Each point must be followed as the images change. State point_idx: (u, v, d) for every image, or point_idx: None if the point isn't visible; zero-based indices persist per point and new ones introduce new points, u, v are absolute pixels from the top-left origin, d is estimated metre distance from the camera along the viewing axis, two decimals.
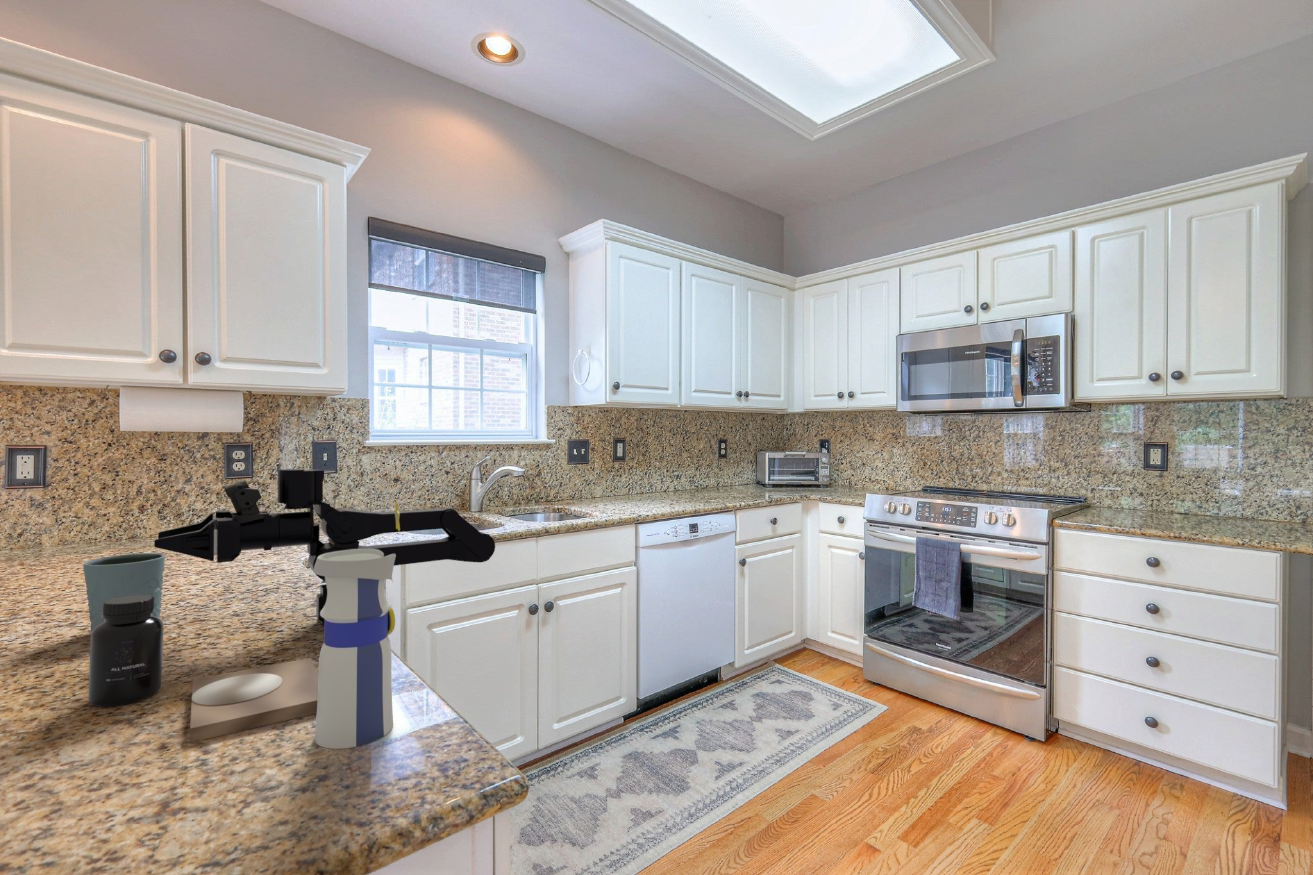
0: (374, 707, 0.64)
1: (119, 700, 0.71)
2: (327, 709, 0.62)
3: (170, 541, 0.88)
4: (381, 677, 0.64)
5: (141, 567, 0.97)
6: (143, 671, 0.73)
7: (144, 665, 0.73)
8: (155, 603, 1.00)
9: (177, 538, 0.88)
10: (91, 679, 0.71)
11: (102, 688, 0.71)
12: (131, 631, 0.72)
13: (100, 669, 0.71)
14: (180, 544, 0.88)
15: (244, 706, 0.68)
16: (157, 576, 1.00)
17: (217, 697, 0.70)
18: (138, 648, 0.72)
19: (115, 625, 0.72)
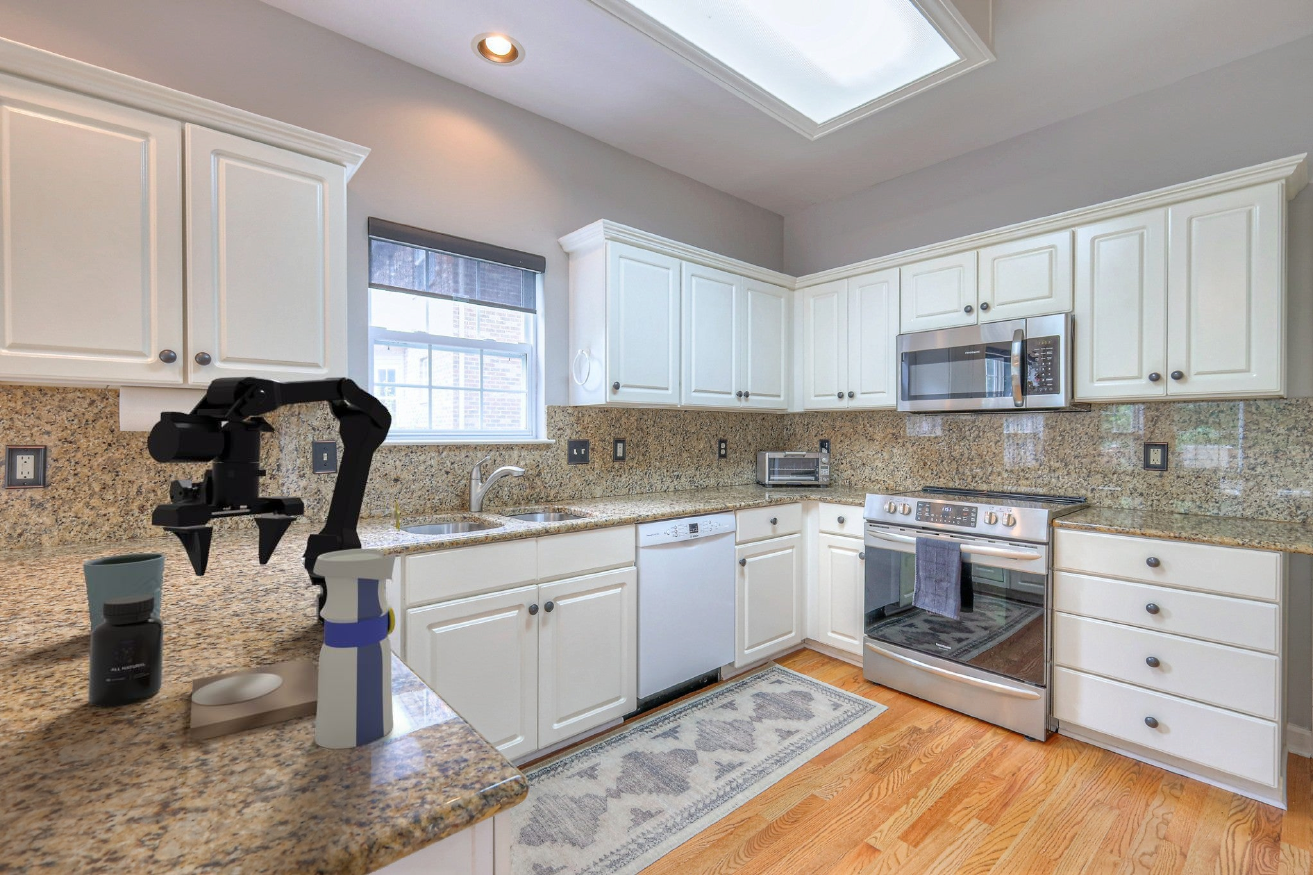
0: (374, 707, 0.64)
1: (119, 700, 0.71)
2: (327, 709, 0.62)
3: (194, 563, 0.82)
4: (381, 677, 0.64)
5: (141, 567, 0.97)
6: (143, 671, 0.73)
7: (144, 665, 0.73)
8: (155, 603, 1.00)
9: (192, 557, 0.82)
10: (91, 679, 0.71)
11: (102, 688, 0.71)
12: (131, 631, 0.72)
13: (100, 669, 0.71)
14: (194, 555, 0.82)
15: (244, 706, 0.68)
16: (157, 576, 1.00)
17: (217, 697, 0.70)
18: (138, 648, 0.72)
19: (115, 625, 0.72)
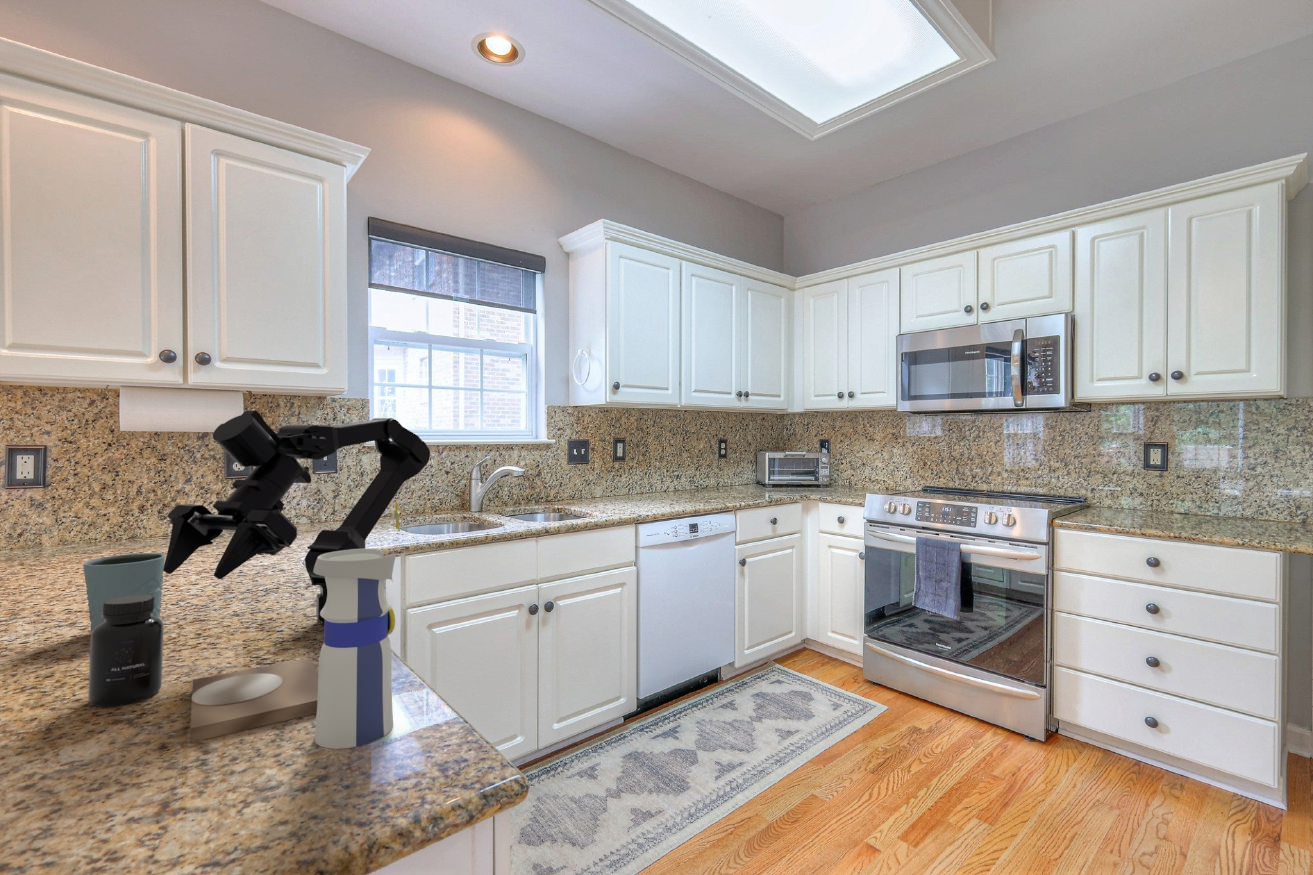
0: (374, 707, 0.64)
1: (119, 700, 0.71)
2: (327, 709, 0.62)
3: None
4: (381, 677, 0.64)
5: (141, 567, 0.97)
6: (143, 671, 0.73)
7: (144, 665, 0.73)
8: (155, 603, 1.00)
9: None
10: (91, 679, 0.71)
11: (102, 688, 0.71)
12: (131, 631, 0.72)
13: (100, 669, 0.71)
14: None
15: (244, 706, 0.68)
16: (157, 576, 1.00)
17: (217, 697, 0.70)
18: (138, 648, 0.72)
19: (115, 625, 0.72)
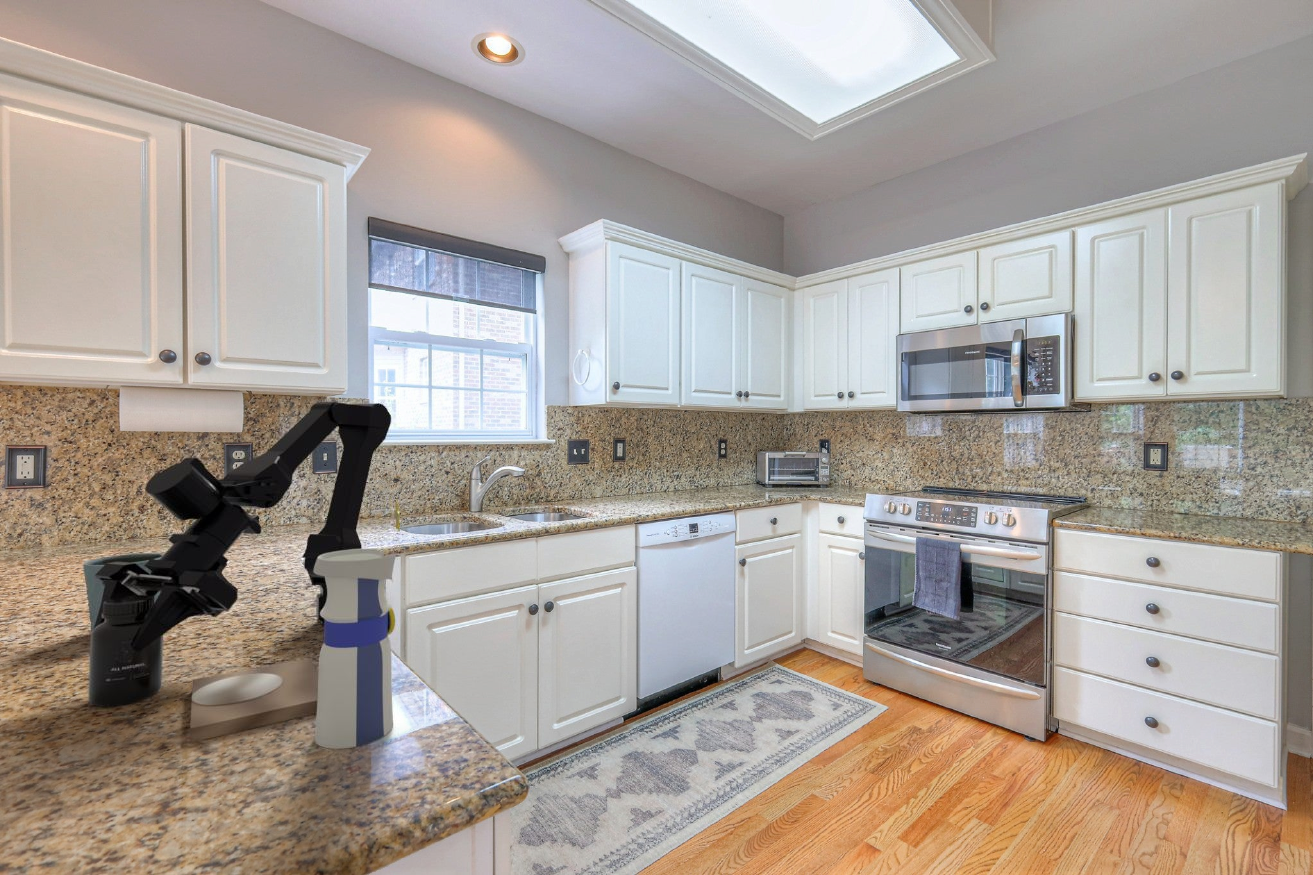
0: (374, 707, 0.64)
1: (119, 700, 0.71)
2: (327, 709, 0.62)
3: None
4: (381, 677, 0.64)
5: (141, 567, 0.97)
6: (143, 671, 0.73)
7: (144, 665, 0.73)
8: None
9: None
10: (91, 679, 0.71)
11: (102, 688, 0.71)
12: (131, 631, 0.72)
13: (100, 669, 0.71)
14: None
15: (244, 706, 0.68)
16: None
17: (217, 697, 0.70)
18: None
19: (115, 625, 0.72)
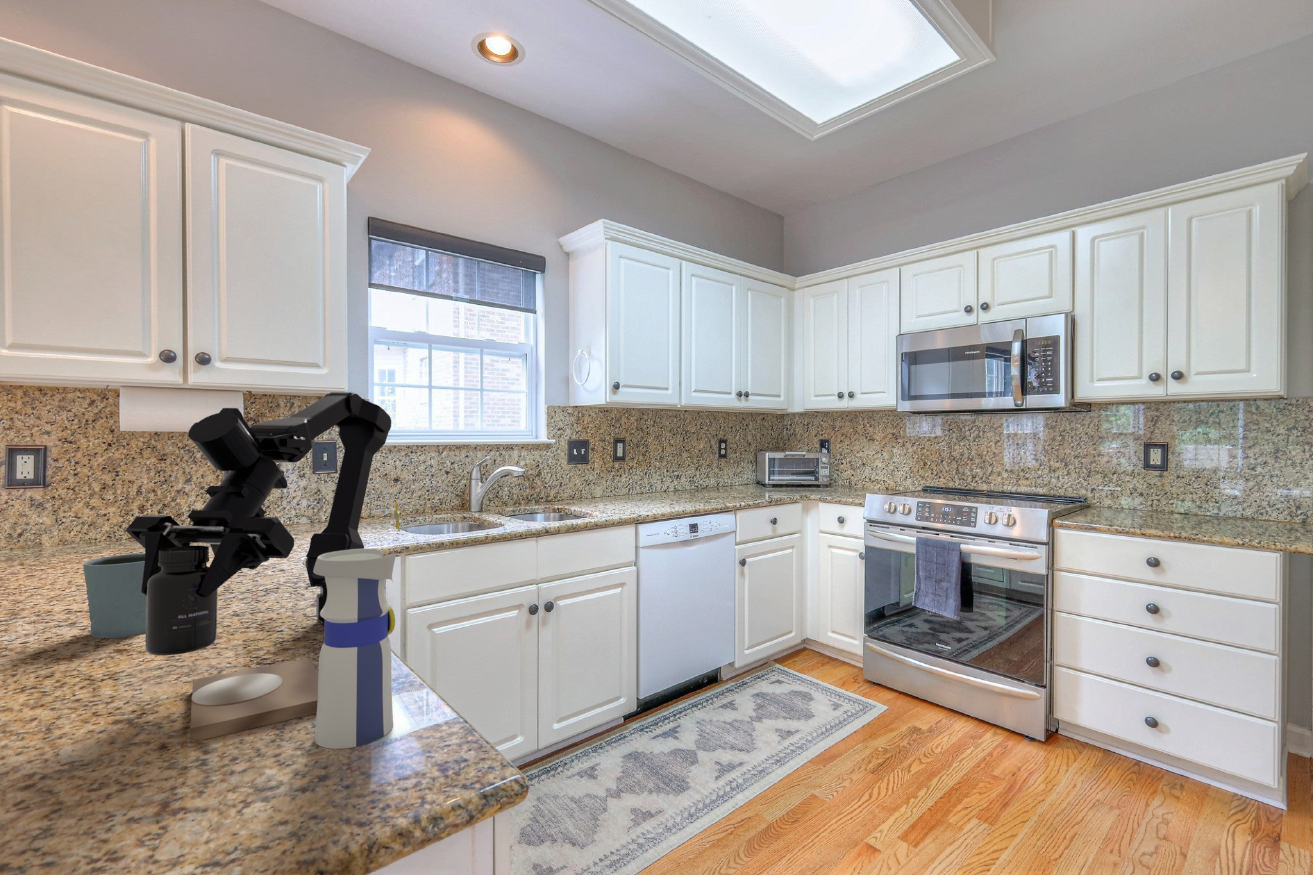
0: (374, 707, 0.64)
1: (186, 647, 0.70)
2: (327, 709, 0.62)
3: None
4: (381, 677, 0.64)
5: (141, 567, 0.97)
6: (207, 619, 0.72)
7: (207, 612, 0.72)
8: None
9: None
10: (153, 628, 0.69)
11: (167, 636, 0.69)
12: (196, 578, 0.71)
13: (165, 617, 0.69)
14: None
15: (244, 706, 0.68)
16: None
17: (217, 697, 0.70)
18: None
19: (178, 573, 0.71)
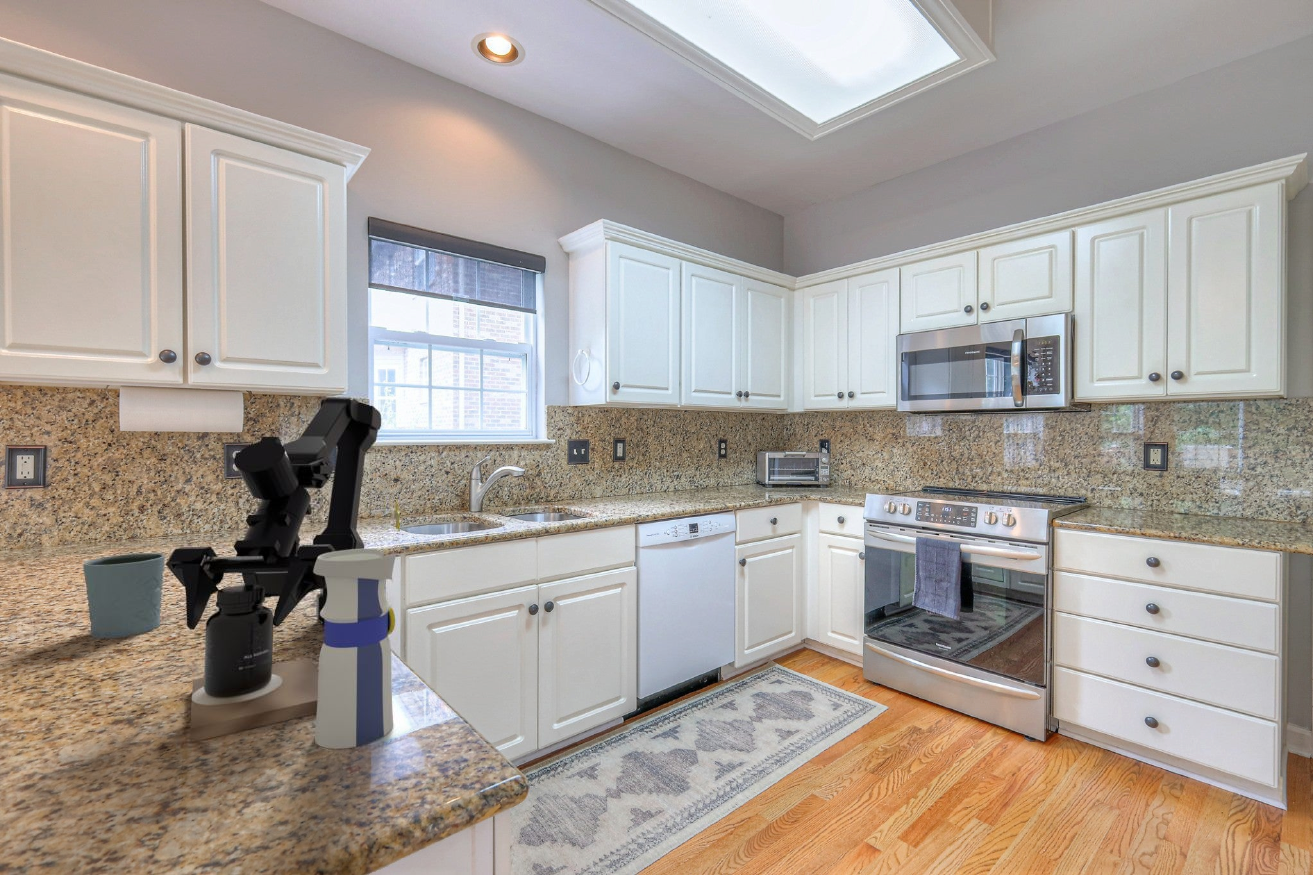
0: (374, 707, 0.64)
1: (251, 687, 0.71)
2: (327, 709, 0.62)
3: None
4: (381, 677, 0.64)
5: (141, 567, 0.97)
6: (268, 657, 0.73)
7: (268, 651, 0.73)
8: (155, 603, 1.00)
9: None
10: (218, 670, 0.69)
11: (234, 677, 0.70)
12: (259, 618, 0.72)
13: (231, 658, 0.70)
14: None
15: (244, 706, 0.68)
16: (157, 576, 1.00)
17: (217, 697, 0.70)
18: (265, 634, 0.72)
19: (242, 614, 0.71)
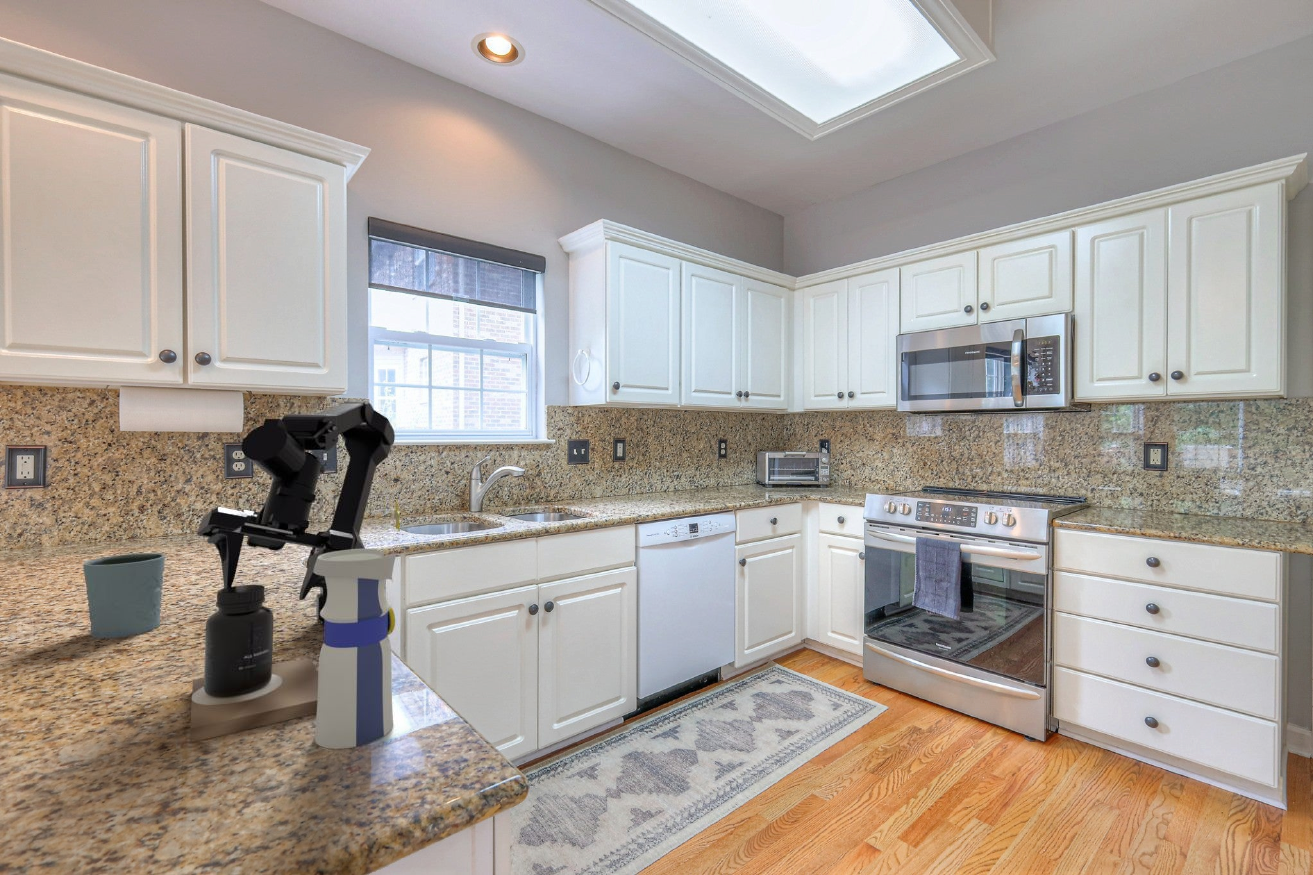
0: (374, 707, 0.64)
1: (251, 687, 0.71)
2: (327, 709, 0.62)
3: (224, 575, 0.80)
4: (381, 677, 0.64)
5: (141, 567, 0.97)
6: (268, 657, 0.73)
7: (268, 651, 0.73)
8: (155, 603, 1.00)
9: (224, 570, 0.80)
10: (218, 670, 0.69)
11: (234, 677, 0.70)
12: (259, 618, 0.72)
13: (231, 658, 0.70)
14: (225, 566, 0.80)
15: (244, 706, 0.68)
16: (157, 576, 1.00)
17: (217, 697, 0.70)
18: (265, 634, 0.72)
19: (242, 614, 0.71)
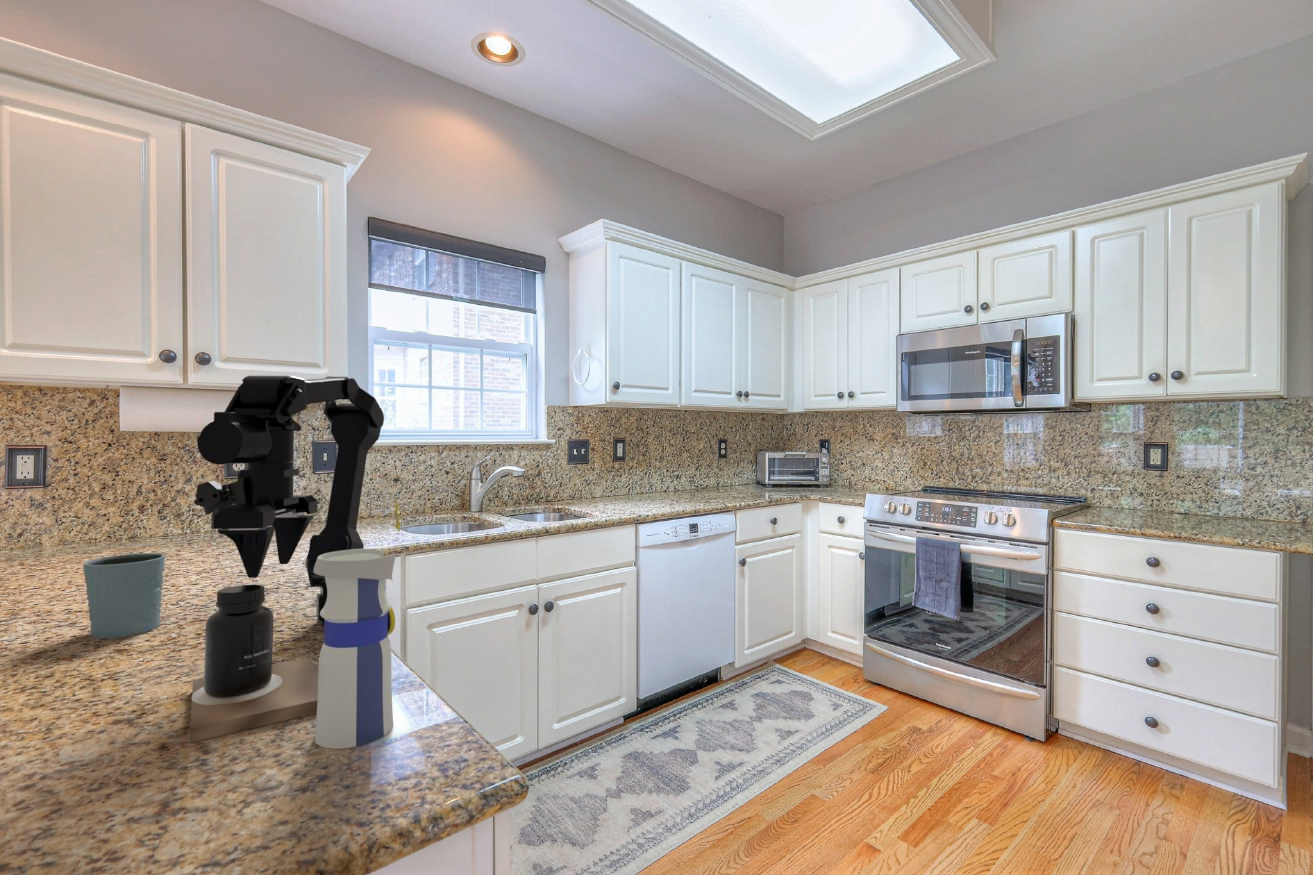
0: (374, 707, 0.64)
1: (251, 687, 0.71)
2: (327, 709, 0.62)
3: (248, 565, 0.81)
4: (381, 677, 0.64)
5: (141, 567, 0.97)
6: (268, 657, 0.73)
7: (268, 651, 0.73)
8: (155, 603, 1.00)
9: (246, 559, 0.81)
10: (218, 670, 0.69)
11: (234, 677, 0.70)
12: (259, 618, 0.72)
13: (231, 658, 0.70)
14: (251, 556, 0.81)
15: (244, 706, 0.68)
16: (157, 576, 1.00)
17: (217, 697, 0.70)
18: (265, 634, 0.72)
19: (241, 614, 0.71)
